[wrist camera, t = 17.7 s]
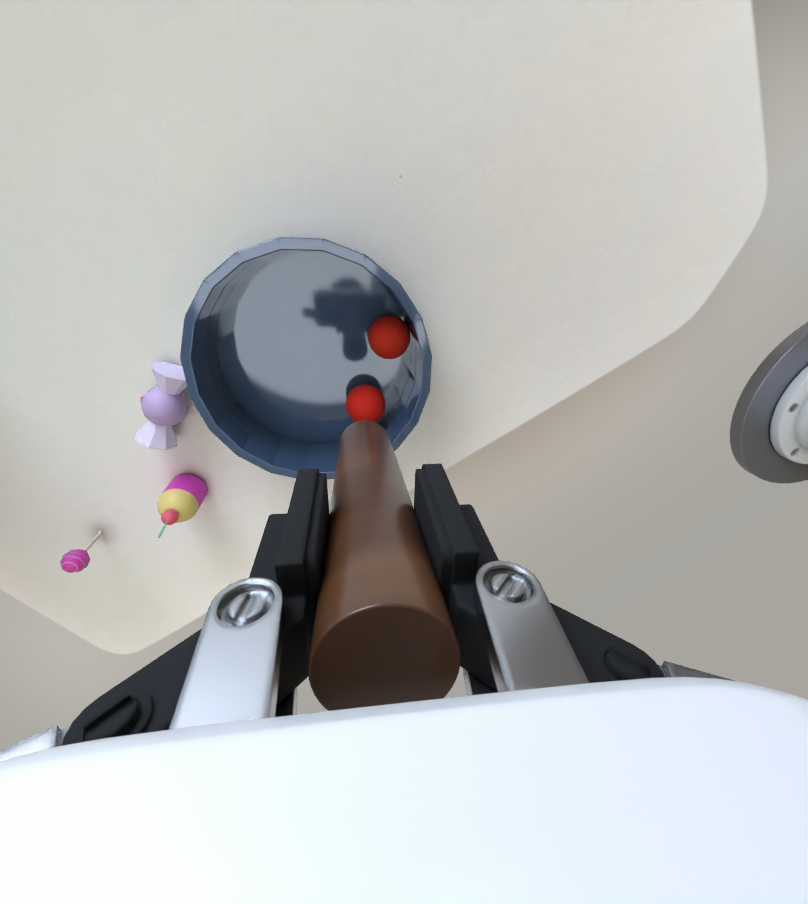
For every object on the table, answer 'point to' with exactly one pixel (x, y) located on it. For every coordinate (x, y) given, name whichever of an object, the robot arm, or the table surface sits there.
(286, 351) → the bowl
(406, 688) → the stick
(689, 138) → the table surface
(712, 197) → the table surface
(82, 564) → the candy
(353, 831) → the robot arm
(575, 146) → the table surface
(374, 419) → the tomato
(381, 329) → the tomato
